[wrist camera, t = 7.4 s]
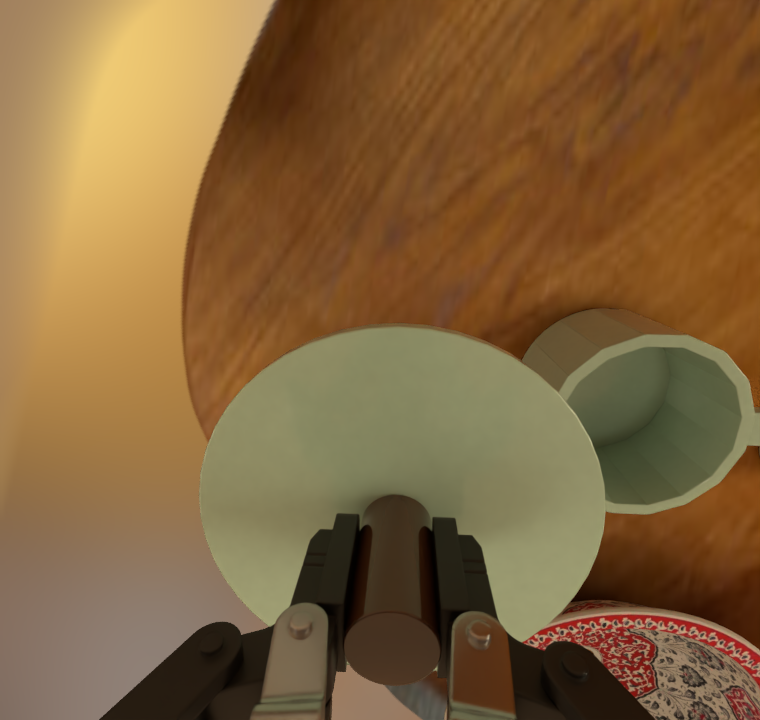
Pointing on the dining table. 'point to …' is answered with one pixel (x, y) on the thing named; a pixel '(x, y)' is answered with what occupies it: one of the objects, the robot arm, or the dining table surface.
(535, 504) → the lid
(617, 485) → the pot
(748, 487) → the dining table surface
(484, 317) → the dining table surface
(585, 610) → the ceramic bowl
